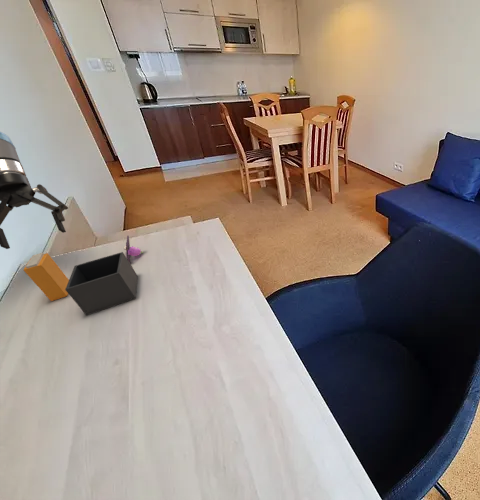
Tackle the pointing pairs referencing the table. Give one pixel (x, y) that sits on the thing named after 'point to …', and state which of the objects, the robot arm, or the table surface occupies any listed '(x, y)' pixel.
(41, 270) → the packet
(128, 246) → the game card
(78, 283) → the bin
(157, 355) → the table surface
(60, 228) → the robot arm
